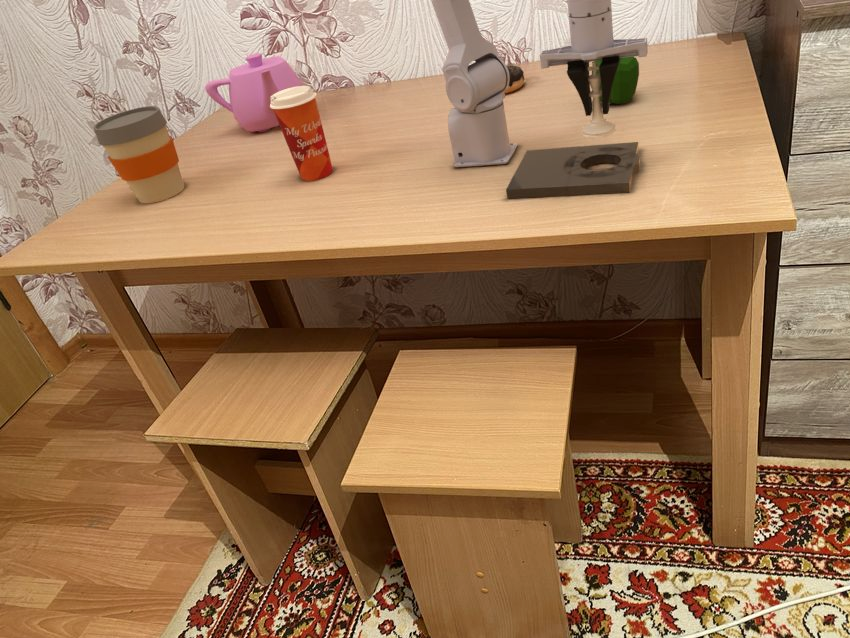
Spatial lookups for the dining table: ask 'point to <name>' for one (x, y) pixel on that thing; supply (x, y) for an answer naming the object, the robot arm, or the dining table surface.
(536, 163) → the dark grey flat block
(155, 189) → the reusable coffee cup
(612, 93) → the bell pepper
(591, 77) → the chess piece
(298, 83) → the teapot
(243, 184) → the dining table surface
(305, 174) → the coffee cup
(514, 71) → the donut
